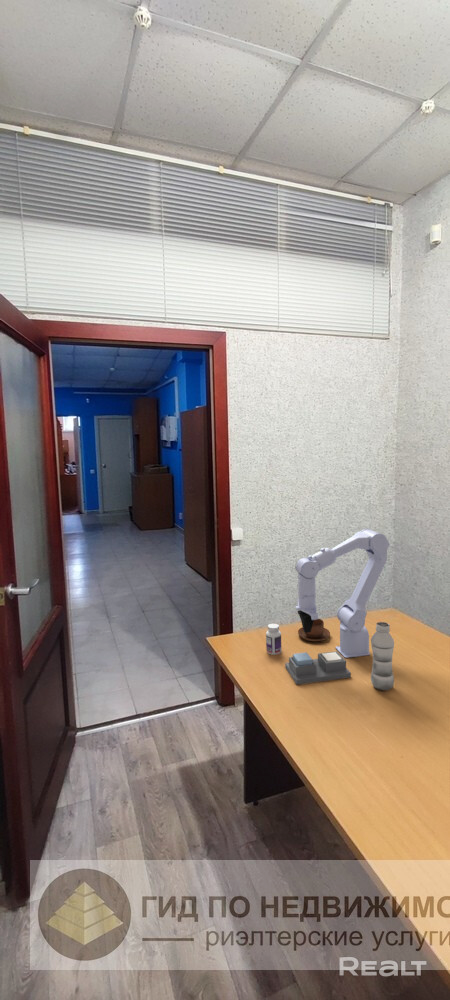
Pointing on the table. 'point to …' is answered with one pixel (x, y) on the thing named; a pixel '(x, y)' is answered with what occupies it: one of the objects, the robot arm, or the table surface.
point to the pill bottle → (273, 639)
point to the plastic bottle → (382, 657)
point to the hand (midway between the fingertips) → (307, 631)
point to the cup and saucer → (315, 632)
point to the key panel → (318, 670)
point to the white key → (331, 657)
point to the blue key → (302, 659)
